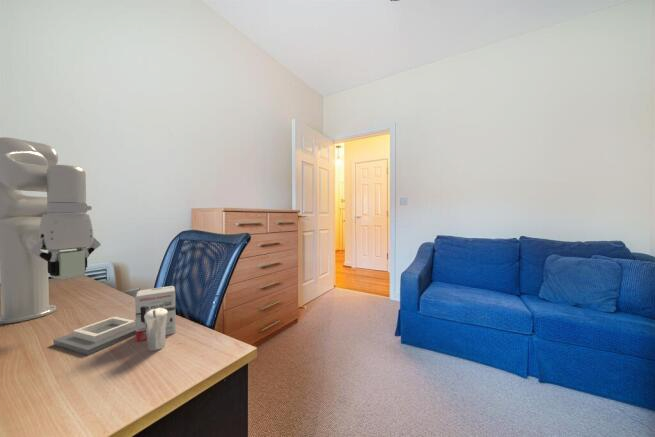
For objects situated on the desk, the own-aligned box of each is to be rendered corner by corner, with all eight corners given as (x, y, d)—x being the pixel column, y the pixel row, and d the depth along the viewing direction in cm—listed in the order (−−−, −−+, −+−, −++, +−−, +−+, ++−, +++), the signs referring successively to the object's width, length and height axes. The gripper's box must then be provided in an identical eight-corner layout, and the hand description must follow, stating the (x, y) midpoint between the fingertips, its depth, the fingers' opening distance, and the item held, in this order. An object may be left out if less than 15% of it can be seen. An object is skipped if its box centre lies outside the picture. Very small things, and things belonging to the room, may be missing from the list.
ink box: (135, 342, 60) (134, 295, 60) (137, 334, 64) (136, 290, 64) (176, 333, 64) (175, 289, 64) (175, 326, 69) (174, 285, 68)
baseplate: (53, 344, 59) (53, 333, 59) (119, 320, 72) (118, 311, 72) (88, 355, 55) (88, 343, 54) (151, 327, 68) (151, 318, 68)
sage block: (51, 277, 67) (50, 252, 67) (75, 273, 72) (74, 250, 72) (61, 279, 65) (61, 253, 65) (85, 274, 70) (84, 251, 70)
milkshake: (142, 356, 54) (141, 312, 54) (147, 345, 58) (146, 304, 58) (166, 351, 56) (165, 308, 56) (169, 340, 61) (168, 301, 60)
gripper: (96, 210, 78) (97, 266, 78) (14, 208, 62) (15, 279, 62) (111, 210, 75) (112, 267, 75) (29, 208, 59) (30, 282, 59)
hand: (68, 272), depth 69 cm, fingers closed on sage block, 5 cm apart
